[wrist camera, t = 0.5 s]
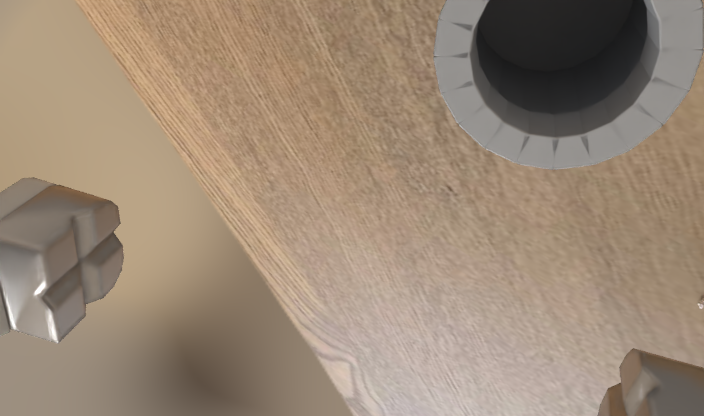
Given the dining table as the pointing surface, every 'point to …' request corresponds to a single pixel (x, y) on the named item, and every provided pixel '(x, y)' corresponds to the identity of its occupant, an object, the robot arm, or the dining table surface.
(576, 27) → the gray cylindrical container
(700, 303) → the mug
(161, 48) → the dining table surface
